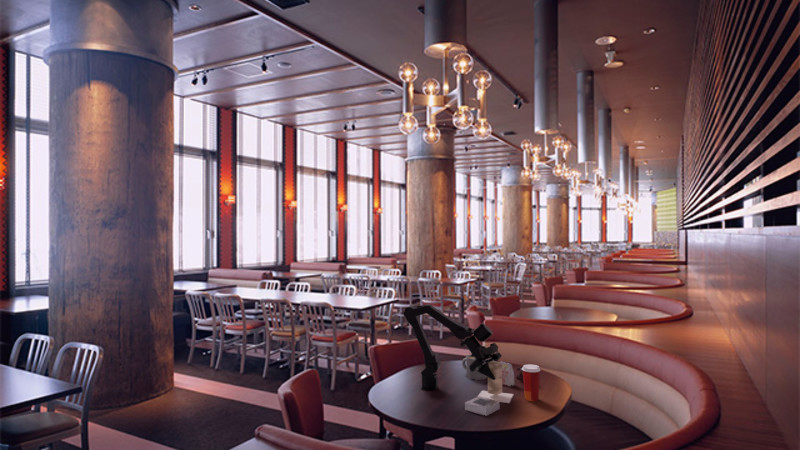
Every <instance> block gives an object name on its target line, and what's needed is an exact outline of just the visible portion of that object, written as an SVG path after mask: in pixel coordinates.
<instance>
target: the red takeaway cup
mask: <svg viewBox="0 0 800 450" xmlns="http://www.w3.org/2000/svg"><path fill="white" fill-rule="evenodd" d="M522 367H523V366H517V367H516V370H517V371H518V374H516V375H515V378H516V379H518V380H519V379H520V380H521V381H522V382H524V380H523V370H522Z"/></svg>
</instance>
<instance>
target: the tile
mask: <svg viewBox="0 0 800 450" xmlns="http://www.w3.org/2000/svg"><path fill="white" fill-rule="evenodd" d="M478 396H480V397H484V398H488V399H492V400H495V401H499V403H505V404H506V403H507V404H510V403H511V401H512V399H513V398H514V393H507V392H502V393H500V394H498V395H494V394H490V393H488V390H481V391H480V392H479V394H478V395H477V397H478Z"/></svg>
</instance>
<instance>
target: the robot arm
mask: <svg viewBox="0 0 800 450" xmlns="http://www.w3.org/2000/svg"><path fill="white" fill-rule="evenodd" d="M402 314H403V317H404V318H405V320H406V321H407V323H408V324H409V325H410V326H411V328H412V330H413V333H414V334H415V337H416V340H417V343H418V344H419V347H420V349H421V352H422V354H423V361H424V366H425V367H424V368H423V369H422V370H421V372H420V374H421V387H420V389H421V390H425V391H436V389H437V388H438V387H439V378H438V376H437V371H438V370H439V369H440V368H441V366H442V363H441V362H442V359H441V358H440V355H439V352H436V353H435V352H434V351H433V349H432V346H431V344H430V343H429V342H430V341H429V339H428V337H427V335H426V332H425V330H424V328H423V325H422V323H421V316H422V315H429V316H430V317H431V318H433V319H434V320H435V321H437V322H438V323H440V324H441V325H443V326H444V327H446V328H447V329H448V330H449V331H450V333H451V334H452V335H453V336H454V337H455V338H457V339H458V340H461V341H460V347H466V348H467V349H468V351H469V352H470V353H471V354H470V355H471V357H474V358H475V359H476V360H475V361H474V362H473V363H472V364H471V365H470V366H469V369H470V371H471V372H474V371H476V368H477V367H478V369H479V370H477V372H480V373H482V374H484V375H485V376H487V378H488V377H489V378H491V379H492V380H495V377H494V375H493V373H492V372H491V370H490V369H489V366H488V363H489V362H491V361H496V362H499V360H500V359H501V358H502V357H503V356H502V354H501V353H500V352H499V345H498V344H496V342H493V343H490V344H489V345H490V346H488V347H486V345H482V343H485V341H487V340H488V339H489V338H490V337H492V336H493V335H494V332H493V331H492V329H491V327H489V326H487V325H486V324H485V323H484V322H481V323H480V325H479V326H477V327H476V328H472V327H468V326H467V325H466V324H465V323H462V322H460V321H457V320H454V319H453V318H451V317H449V316H448V315H446V314H444V313H443V312H442V311H440V310H439V309H437V308H436V307H435V306H434V305H432V304H430V303H426V304H423V305H421V304H420V305H417V306H416V305H414V304H412V305H411V304H410V305H409V306H406V307H405V308H404V310H403V312H402ZM481 342H482V343H481Z"/></svg>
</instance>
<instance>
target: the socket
mask: <svg viewBox="0 0 800 450" xmlns="http://www.w3.org/2000/svg"><path fill="white" fill-rule="evenodd" d="M464 410H465V411H467V412H471V413H475V414H478V415H481V416H484V415H485V416H484V417H487V416H489V415H491V414H493V413H494V412H496V411H498V410H500V402H499V401H495V400H492V399H488V398H484V397H480V396H478V395H477V396H476V397H474V398H471V399H469V400H467V401H465V402H464Z"/></svg>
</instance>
